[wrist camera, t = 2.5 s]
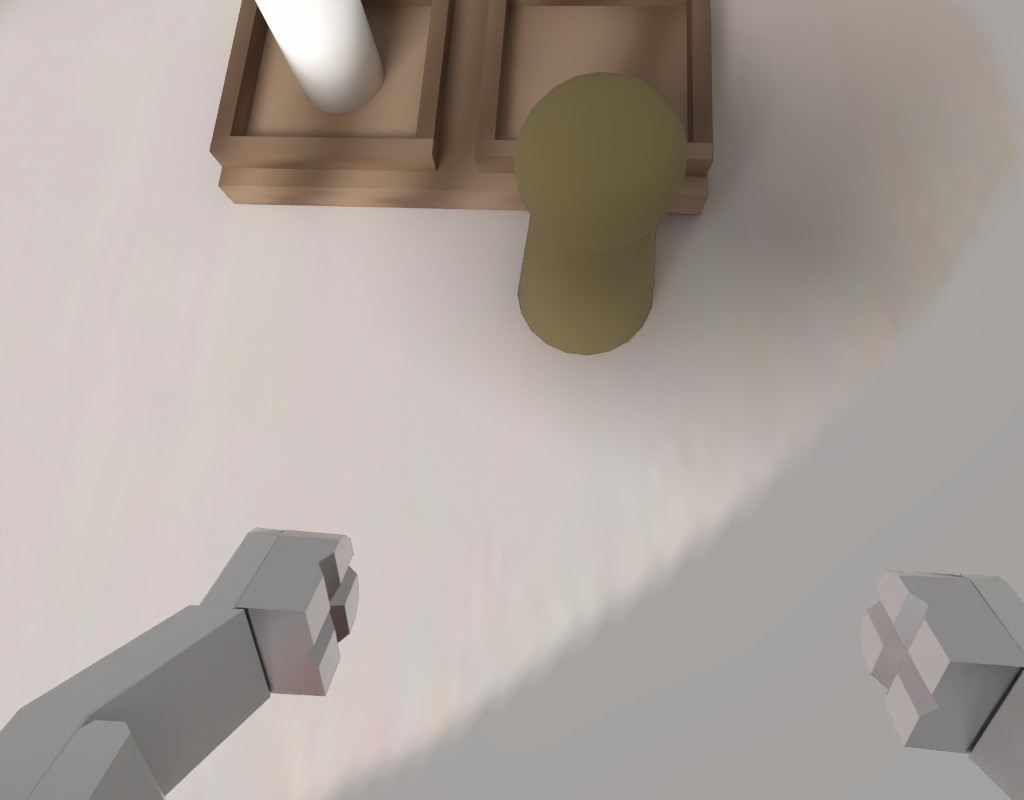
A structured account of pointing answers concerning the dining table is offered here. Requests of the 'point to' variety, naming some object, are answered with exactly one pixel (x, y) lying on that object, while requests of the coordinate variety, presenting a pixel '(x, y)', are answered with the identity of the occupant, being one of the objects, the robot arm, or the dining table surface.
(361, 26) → the salt cellar
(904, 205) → the dining table surface
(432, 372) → the dining table surface
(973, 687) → the robot arm
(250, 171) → the cruet board
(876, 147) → the dining table surface
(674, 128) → the olive green stopper
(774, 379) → the dining table surface
